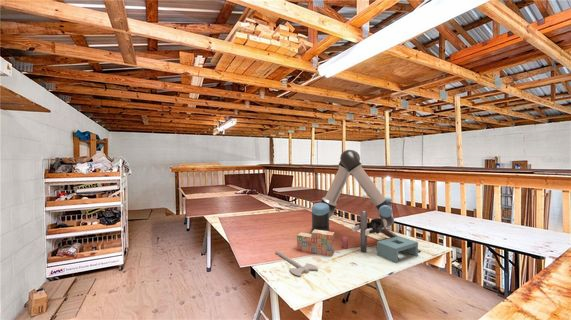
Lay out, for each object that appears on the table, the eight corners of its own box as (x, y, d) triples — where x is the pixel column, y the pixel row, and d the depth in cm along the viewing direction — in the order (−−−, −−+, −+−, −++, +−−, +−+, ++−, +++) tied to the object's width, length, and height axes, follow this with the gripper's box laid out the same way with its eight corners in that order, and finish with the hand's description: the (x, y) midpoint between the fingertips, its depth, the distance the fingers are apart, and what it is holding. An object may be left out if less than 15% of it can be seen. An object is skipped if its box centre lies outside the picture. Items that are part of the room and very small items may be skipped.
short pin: (342, 248, 147) (342, 238, 147) (340, 246, 150) (340, 236, 150) (348, 248, 147) (348, 237, 147) (346, 246, 151) (346, 236, 150)
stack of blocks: (296, 250, 144) (296, 230, 144) (300, 246, 150) (300, 227, 150) (332, 256, 135) (332, 234, 135) (334, 252, 141) (334, 231, 141)
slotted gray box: (420, 258, 142) (421, 250, 141) (417, 258, 141) (417, 250, 141) (382, 231, 180) (382, 225, 180) (379, 232, 180) (380, 225, 180)
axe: (266, 256, 136) (266, 252, 136) (286, 251, 144) (286, 247, 144) (298, 279, 111) (298, 274, 111) (320, 271, 119) (320, 266, 119)
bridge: (395, 262, 127) (395, 248, 127) (376, 254, 138) (376, 241, 137) (417, 255, 137) (418, 242, 137) (398, 248, 148) (398, 235, 147)
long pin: (361, 252, 141) (362, 211, 140) (359, 250, 144) (359, 210, 144) (367, 252, 141) (368, 211, 141) (365, 250, 145) (365, 210, 144)
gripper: (394, 233, 147) (375, 242, 132) (363, 226, 162) (344, 233, 147) (394, 221, 147) (376, 228, 131) (363, 215, 162) (344, 221, 147)
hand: (359, 231), depth 139 cm, fingers open, 8 cm apart
